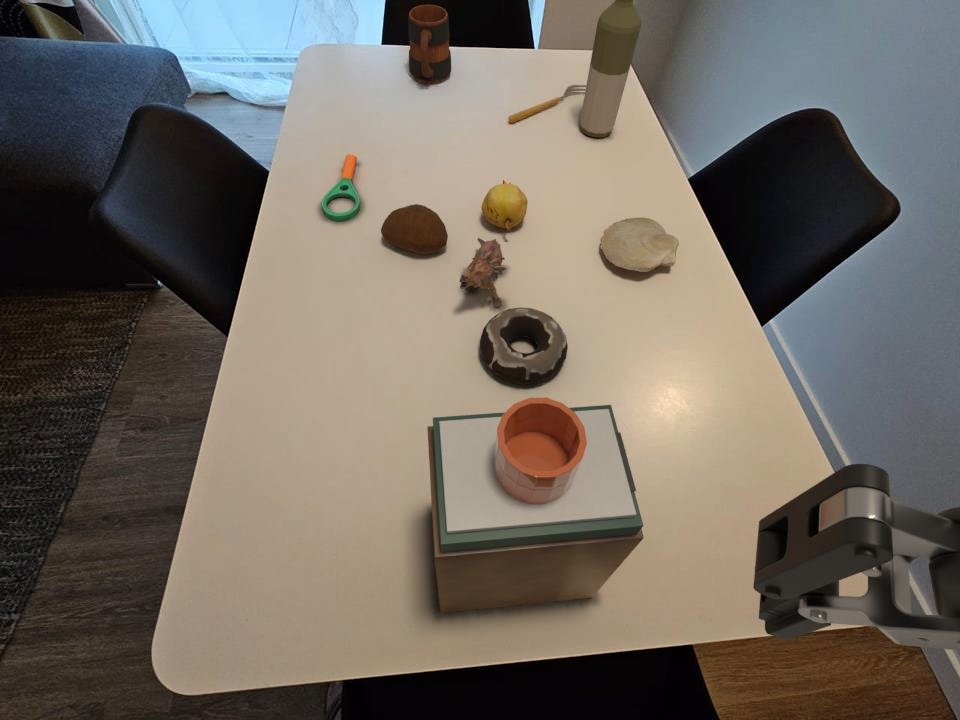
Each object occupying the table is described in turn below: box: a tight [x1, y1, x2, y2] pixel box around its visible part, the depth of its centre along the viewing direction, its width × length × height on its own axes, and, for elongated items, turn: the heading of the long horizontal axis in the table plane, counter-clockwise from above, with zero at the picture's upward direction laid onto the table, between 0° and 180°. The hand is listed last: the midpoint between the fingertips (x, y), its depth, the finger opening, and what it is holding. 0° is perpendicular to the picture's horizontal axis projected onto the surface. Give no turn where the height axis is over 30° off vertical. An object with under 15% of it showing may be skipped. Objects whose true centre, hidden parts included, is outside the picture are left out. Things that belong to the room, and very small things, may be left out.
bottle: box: [579, 0, 642, 138], centre depth 96 cm, size 7×7×30 cm
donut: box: [479, 306, 569, 385], centre depth 76 cm, size 12×12×4 cm
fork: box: [507, 84, 587, 124], centre depth 111 cm, size 2×2×20 cm
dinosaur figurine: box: [459, 237, 507, 309], centre depth 81 cm, size 14×6×9 cm, turn 173°
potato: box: [380, 203, 449, 255], centre depth 86 cm, size 7×10×7 cm
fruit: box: [481, 179, 528, 233], centre depth 90 cm, size 7×7×10 cm
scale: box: [432, 404, 644, 552], centre depth 45 cm, size 15×10×3 cm
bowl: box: [494, 397, 587, 504], centre depth 42 cm, size 6×6×5 cm
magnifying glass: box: [321, 154, 361, 222], centre depth 95 cm, size 15×6×2 cm, turn 179°
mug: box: [407, 4, 452, 85], centre depth 112 cm, size 9×12×12 cm
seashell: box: [600, 217, 680, 273], centre depth 88 cm, size 12×12×3 cm
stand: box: [427, 425, 644, 614], centre depth 54 cm, size 16×11×20 cm
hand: (883, 652), depth 23 cm, fingers open, 8 cm apart
